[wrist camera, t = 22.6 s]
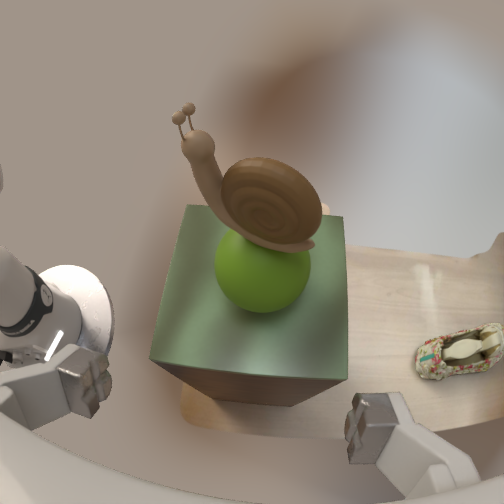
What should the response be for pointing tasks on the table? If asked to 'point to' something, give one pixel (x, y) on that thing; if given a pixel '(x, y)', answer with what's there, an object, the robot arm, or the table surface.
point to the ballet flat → (461, 352)
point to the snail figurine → (256, 223)
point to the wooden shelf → (252, 323)
